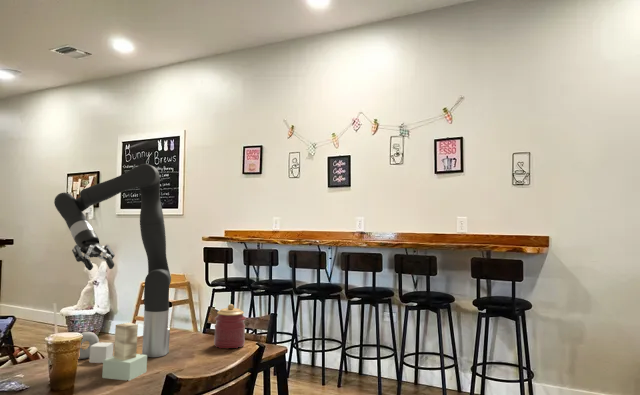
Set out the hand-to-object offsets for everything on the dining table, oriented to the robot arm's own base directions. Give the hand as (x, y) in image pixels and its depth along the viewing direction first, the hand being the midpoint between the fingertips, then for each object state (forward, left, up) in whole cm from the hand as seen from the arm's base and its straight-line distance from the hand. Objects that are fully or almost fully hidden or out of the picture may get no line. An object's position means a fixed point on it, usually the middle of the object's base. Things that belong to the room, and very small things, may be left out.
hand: (102, 268), depth 174 cm
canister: (-50, +19, -35) cm, 64 cm away
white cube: (-5, -4, -35) cm, 36 cm away
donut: (-3, -11, -35) cm, 37 cm away
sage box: (+1, +17, -35) cm, 39 cm away
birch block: (+1, +17, -29) cm, 33 cm away
